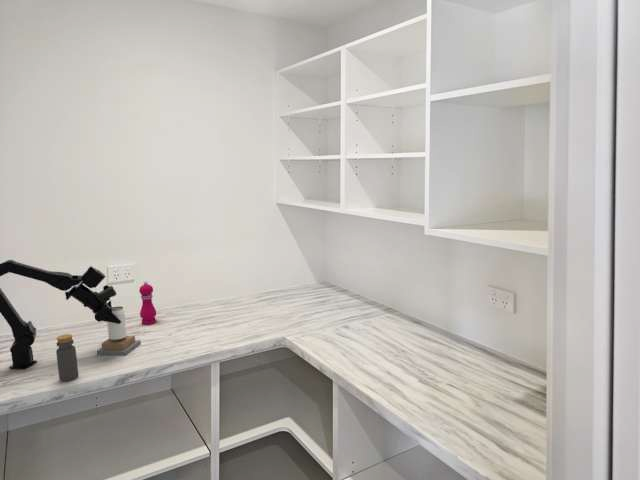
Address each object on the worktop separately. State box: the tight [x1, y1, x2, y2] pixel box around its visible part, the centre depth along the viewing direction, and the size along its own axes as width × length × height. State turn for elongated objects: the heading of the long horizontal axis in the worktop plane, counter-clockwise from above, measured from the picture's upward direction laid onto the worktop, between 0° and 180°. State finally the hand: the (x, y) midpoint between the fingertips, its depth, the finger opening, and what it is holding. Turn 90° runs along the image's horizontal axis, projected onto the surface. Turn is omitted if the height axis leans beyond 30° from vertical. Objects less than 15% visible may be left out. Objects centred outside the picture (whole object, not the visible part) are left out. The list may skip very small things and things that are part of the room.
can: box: [106, 306, 127, 340], centre depth 184 cm, size 6×6×12 cm
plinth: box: [95, 335, 141, 356], centre depth 185 cm, size 12×12×4 cm
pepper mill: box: [138, 280, 157, 326], centre depth 216 cm, size 7×7×20 cm
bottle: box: [55, 333, 79, 382], centre depth 159 cm, size 6×6×15 cm
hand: (120, 320), depth 184 cm, fingers open, 6 cm apart
